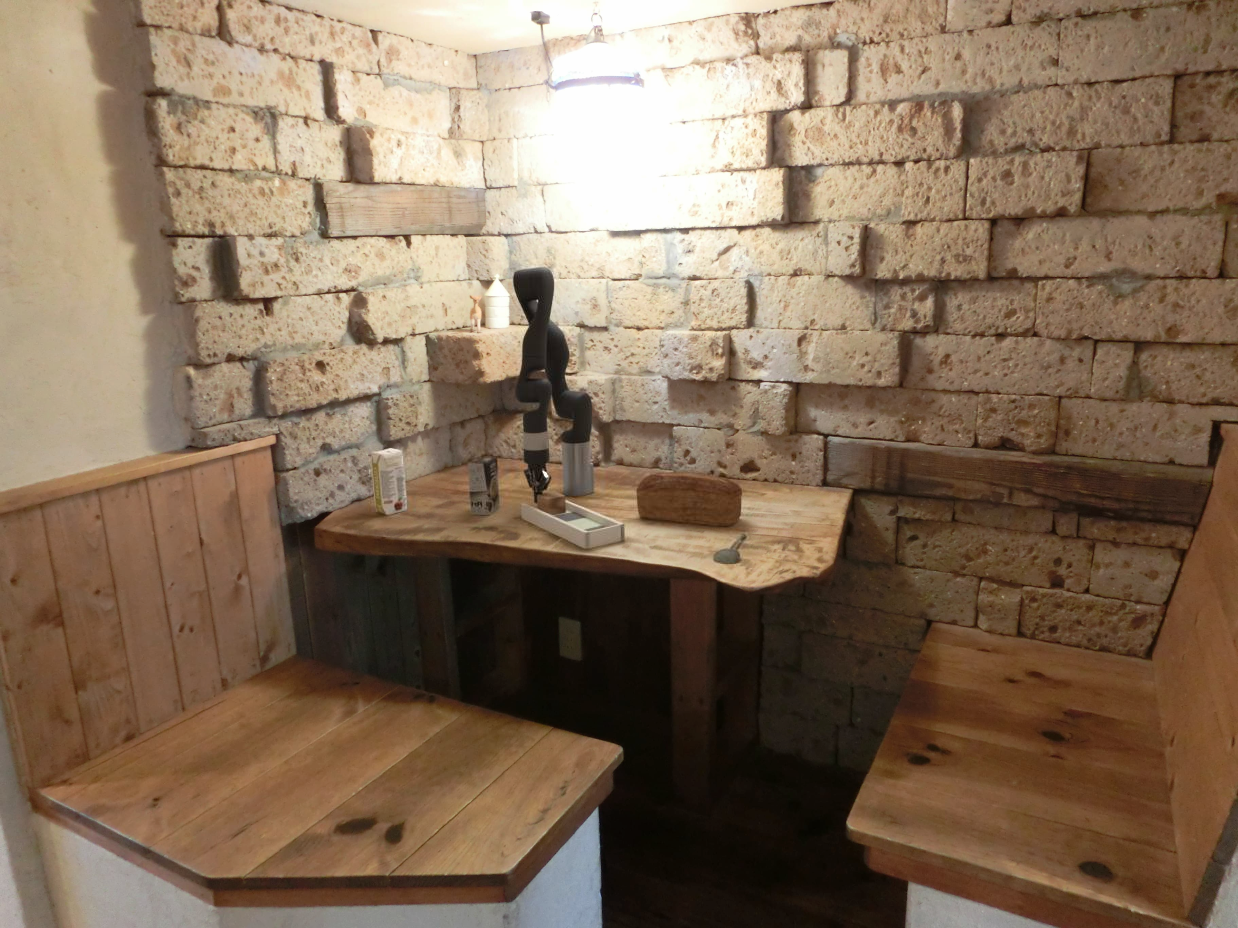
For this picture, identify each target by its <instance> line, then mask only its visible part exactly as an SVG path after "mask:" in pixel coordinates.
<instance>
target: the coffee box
mask: <svg viewBox="0 0 1238 928" xmlns="http://www.w3.org/2000/svg"><path fill="white" fill-rule="evenodd" d="M467 466H468V468H467V469H468V485H469V502H470V503H469V504H470V515H478V516H491V515H492V514H493V513H495V512H496V511H497V510H498V509H499V508H500V507H501V505H500V487H499V486H500V485H499V484H500V483H499V470H498V469H499V467H498V456H477V457H476V458H474V459H472V460H471V461H469V462H468V463H467Z"/></svg>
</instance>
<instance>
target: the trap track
mask: <svg viewBox="0 0 1238 928" xmlns="http://www.w3.org/2000/svg"><path fill="white" fill-rule="evenodd" d="M565 502H566V512H565V513H561V514H556V515H550V514H548V513H546V512H543V511H541V510H539V509H537V507H534V506H531V505H530V504H528V503H520V510H521V519H522V520H523V521H526V522H528V523H530V524H532V525H535V526H536V527H538V528H540V529H543V530H545V531H546V532H549V533H551V534H553V535H555V536H558V537H559V538H561V537H562V538H561V539H563V538H564V540H565V539H566V540H565V541H567V540H568V541H567V542H570V543H572V544H574V545H577V546H578V547H580V548H582V549H584V550H590V549H594V548H598V547H601V546H606V545H610V544H614V543H618V542H621V541H622V540H623V541H625V540H626V538H625V537H626V536H625V523H623V522H621V521H619V520H615V519H613V518H612V517H608V516H606V515H603V514H602V513H598V512H596V511H594V510H592V509H589V508H587V507H584V506H581V505H579V504H577V503H574V502H572V501H569V500H567V499H565ZM623 541H622V542H623ZM613 542H614V543H613ZM609 543H610V544H609ZM597 546H598V547H597ZM593 547H594V548H593Z"/></svg>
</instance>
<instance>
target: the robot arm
mask: <svg viewBox="0 0 1238 928" xmlns="http://www.w3.org/2000/svg"><path fill="white" fill-rule="evenodd" d="M512 285H513V290H514V293H515V296H516V298H517V300H518V302H519V305H520V307H521V309H522V312H523V314H524V316H525V317H526V320H527V323H528V328H527V330H526V332H525V334H524V336H523V339H522V343H521V344H522V345H521V347H522V348H521V365H520V371H519V375H518V378H517V381H516V385H515V389H514V394H515V397H516V400H517V401H518V402H519V403H522V404H539V406H538V407H537V408H536V409H531V410H527V411H525V412H524V413H523V414H522V430H523V431H522V432H523V435H522V445H523V446H522V447H523V448H522V449H523V462H524V463H525V464H527V469H524V470H523V472H524V473H523V474H524V476H525V479H526V481H527V484H528V486H529V488H531V490H532V491H533V502H534V503H535V504H536V505H537V495H539V494H544V491H547V489H548V487H549V485H550V482H551V480H552V476H551V475H548V473H547V471H548V470H547V466H546V464H547V463H548V462H550V442H549V441H550V440H549V439H550V438H549V432H548V412H549V411H548V410H549V407H550V401H551V399H552V403H553V408H554V411H555V412H556V415H557V416H558V417H559V418H561V419H562V420H569V421H572V427H571V428H570V429H566V430H565V431H564V430H563V431H562V433H561V435H560V437H561V438H560V439H561V464H562V465H561V466H562V467H561V469H562V486H563V487H562V490H563V491H562V493H563V495H565V496H566V495H567V496H572V497H573V496H574V497H580V496H586V495H589V494H592V493H594V492H595V481H594V480H595V473H594V472H595V470H594V463H593V462H591V461H592V460H591V433H592V430H593V429H592V427H593V426H592V424H593V422H592V421H593V420H592V419H593V402H592V398H591V395H590V394H588V393H587V392H585V391H577V390H570V389H569V386H568V384H567V380H566V371H567V368H568V365H569V362H570V356H571V355H570V349H569V345H568V342H567V340H566V337H565V334H564V332H563V330H562V329H561V328H560V327H559V326H558V325H557V324H556V323H555V322H554V321H553V320H552V319H551V313H552V307H553V302H554V296H555V295H554V294H555V278H554V275H553V272H552V271H551V269H550V268H548V267H546V266H538V267H531V268H530V267H529V268H523V269H518V270H516V271H515V272H514V274H513V276H512ZM543 370H544V372H545V376H546V378H530V377H531V376H532V375H533V374H534V373H537V372H541V371H543Z"/></svg>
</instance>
